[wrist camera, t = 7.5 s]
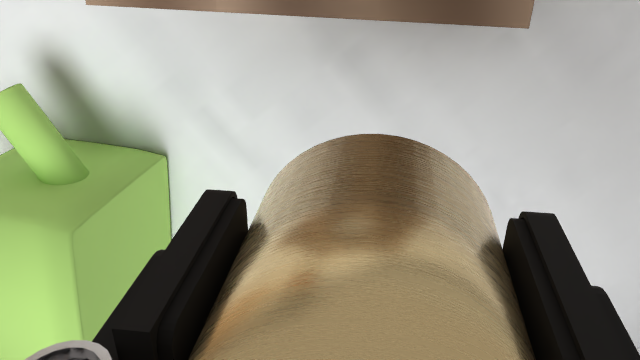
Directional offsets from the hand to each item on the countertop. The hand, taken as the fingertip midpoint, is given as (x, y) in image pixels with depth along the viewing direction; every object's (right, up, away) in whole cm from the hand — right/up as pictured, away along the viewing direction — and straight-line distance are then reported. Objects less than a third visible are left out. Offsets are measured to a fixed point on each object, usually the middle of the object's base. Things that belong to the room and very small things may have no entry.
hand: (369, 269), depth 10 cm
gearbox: (-15, 0, +23) cm, 28 cm away
